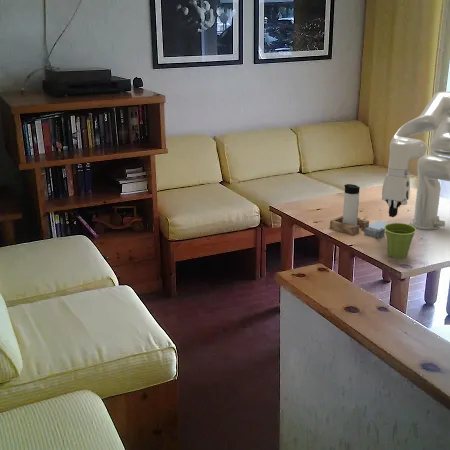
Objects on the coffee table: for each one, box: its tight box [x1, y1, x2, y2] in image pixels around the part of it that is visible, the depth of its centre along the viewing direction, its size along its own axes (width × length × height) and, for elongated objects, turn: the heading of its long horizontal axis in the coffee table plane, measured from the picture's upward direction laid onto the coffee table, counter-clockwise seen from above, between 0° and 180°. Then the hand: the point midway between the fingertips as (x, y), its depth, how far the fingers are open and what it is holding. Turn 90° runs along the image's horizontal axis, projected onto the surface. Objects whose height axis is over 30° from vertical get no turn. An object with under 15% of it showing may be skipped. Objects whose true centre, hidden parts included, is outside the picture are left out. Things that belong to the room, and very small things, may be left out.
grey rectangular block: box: [363, 227, 385, 240], centre depth 236 cm, size 7×4×3 cm, turn 45°
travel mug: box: [342, 183, 361, 226], centre depth 241 cm, size 6×7×20 cm
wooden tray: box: [329, 215, 370, 236], centre depth 244 cm, size 12×11×4 cm
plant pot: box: [384, 222, 417, 259], centre depth 214 cm, size 12×12×11 cm
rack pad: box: [369, 220, 390, 234], centre depth 245 cm, size 10×10×1 cm
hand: (392, 216), depth 226 cm, fingers closed
